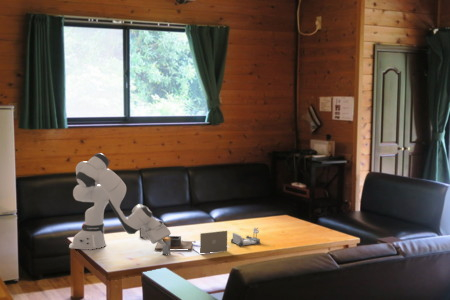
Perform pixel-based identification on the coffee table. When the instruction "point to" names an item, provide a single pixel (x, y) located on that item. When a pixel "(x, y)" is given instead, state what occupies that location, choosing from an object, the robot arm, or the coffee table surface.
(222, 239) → the laptop
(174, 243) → the keeper
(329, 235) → the coffee table surface
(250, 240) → the toy car
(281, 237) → the coffee table surface
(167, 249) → the toggle bar
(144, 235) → the grey rounded block
